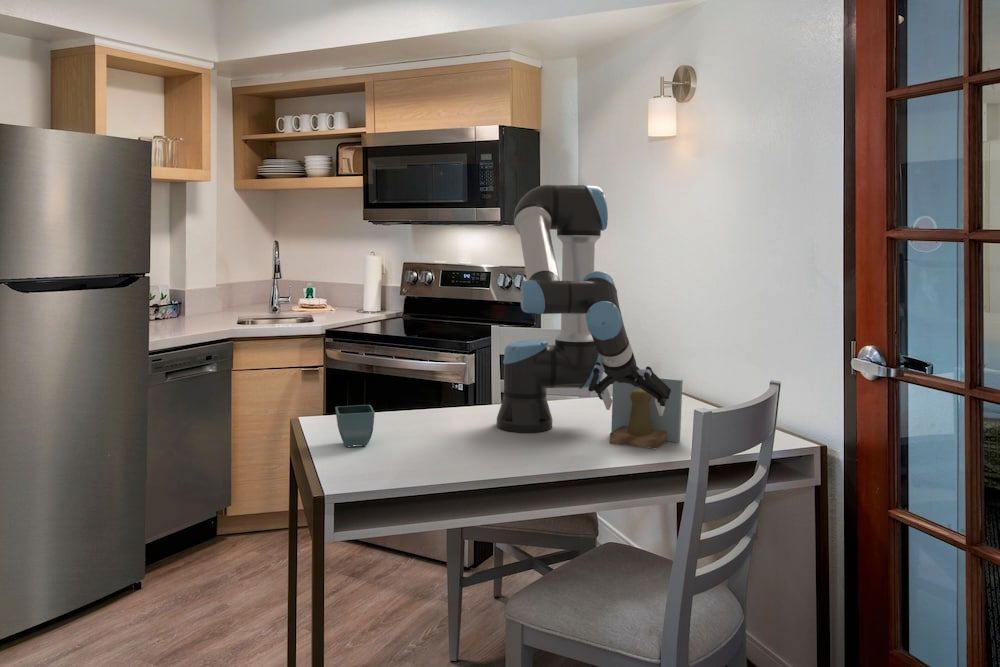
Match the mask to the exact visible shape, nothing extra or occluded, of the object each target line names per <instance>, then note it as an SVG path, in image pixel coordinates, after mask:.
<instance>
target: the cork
mask: <svg viewBox="0 0 1000 667" xmlns="http://www.w3.org/2000/svg"><path fill="white" fill-rule="evenodd" d="M631 401H632V408H631V414H630V420H629V426H628V433H630V434H633V435H650V434H651V422H650V411H649V402H650V401H651V395H650V394H649V393H647V392H646V391H644V390H643V389H636V390H633V391H632V392H631Z"/></svg>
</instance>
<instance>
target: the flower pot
mask: <svg viewBox="0 0 1000 667" xmlns="http://www.w3.org/2000/svg"><path fill="white" fill-rule="evenodd" d="M334 408H335V409H334V410H335V416H336V417H335V418H336V424H337V429H338V432H339V435H340V437H341V440H342V443H343V444H344V446H345V447H346V446H353V445H368V444H369V443H370V441H371V439H372V436H373V432H374V423H375V422H374V421H375V413H376V412H375V410H374V408H373V406H372V405H370V404H359V405H345V406H343V405H342V406H335V407H334Z"/></svg>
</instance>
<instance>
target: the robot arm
mask: <svg viewBox="0 0 1000 667" xmlns="http://www.w3.org/2000/svg"><path fill="white" fill-rule="evenodd" d="M608 221H609V214H608V204H607V199H606V196H605V193H604V191H603V190H602V188H601V187H599V186H596V185H587V184H583V185H582V184H581V185H579V184H577V185H573V184H572V185H570V184H569V185H566V184H564V185H562V184H560V185H559V184H556V185H555V184H544V185H539V186H537V187H534V188H532V189H531V190H529V191H528V192H526V193H525V194H524V195H523V196H522V197H521V198H520V200H519V202H518V203H517V205H516V207H515V210H514V214H513V224H514V228H515V231H516V233H517V234H518V235H519V236H520V243H521V250H522V257H523V263H524V270H525V274H526V277H525V278H526V280H523V281H522V282H521V286H520V293H519V294H520V308H521V311H522V312H524V313H526V314H537V315H550V314H551V315H554V314H556V315H559V314H560V332H559V334H557V336H556V337H555V338H554V339H555V340H554V344H549V342H548V340H546V339H543V338H538V339H535V338H533V339H525V340H524V339H523V340H518V341H515V342H511V343H509V344H507V345H506V347H505V348H504V356H503V361H502V362H503V395H502V396H503V398H502V401H501V404H500V406H499V407H500V408H499V410H498V412H497V416H496V427H497V428H499V429H500V430H503V431H508V432H515V433H539V432H545V431H548V430H551V429H553V415H552V413H551V410H550V407H549V403H548V400H547V391H548V389H579V390H582V389H588V391H589V392H595V393H596V394H597V396H598V398H599V399H600V400H602V402H603V404H604V406H605V409H606V411H610V410H611V408H612V397H611V395H610V392H609V389H608V387H609V386H610V385H612V386H613V383H614V382H615V381H617V382H618V383H628V384H632V385H633V386H635V387H640V388H641V389H643V390H644V391H646V392H647V393H649V394H650V395H652V396H653V397H655V404H656V407H657V410H658V413H659V416H663V412H664V409H665V403H666V399H669V396H670V393H671V389H670V388H669V387H668V386H667V385H666V384H665V383H664V382H663V381H662V380H661V379H660V378H658V377H659V376H657V374H656V373H655V372H654V371H653V369H652V367H651V366H646V367H645V368H644V369H641V368H639V367H638V365H637V361H636V358H635V355H634V351H633V348H632V346H631V342H630V339H629V337H628V334H627V331H626V328H625V327H626V326H625V325H624V320H623V316H622V312H621V307H620V303H619V298H618V291H617V288H616V285H615V282H614V279H613V277H612V276H611V274H609V273H608V272H605V271H602V270H595V252H596V250H595V244H596V242H597V241H598V240H599V239H601V237H602V236H601V235H602V231H605V230H606V229H607V228H608ZM551 230H555V231H556V238H557V239H559V241H561V244H562V247H561V248H562V251H561V252H562V253H561V254H562V260H561V262H562V263H561V280H560V275H559V271H558V266H557V261H556V256H555V251H554V245H553V240H552V236H551ZM603 373H605V374H606V376H605V377H604V378H603V379H602V377H603ZM636 378H637V380H636ZM601 379H602V380H601ZM635 380H636V381H635Z"/></svg>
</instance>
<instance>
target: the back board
mask: <svg viewBox="0 0 1000 667" xmlns="http://www.w3.org/2000/svg"><path fill="white" fill-rule="evenodd" d="M657 377H658V378H660V379H661V380H662V381H663V382H664V383H665V384H666V385H667V386H668V387H669V388H670V389H671V393H670V396H669V399H666V403H665V409H664V412H663V416H659V413H658V410H657V407H656V404H655V397H653V396H652V395H651V401H650V402H649V411H650V422H651V430H659V431H667V441H666V442H670V441H672V442H671V443H677V442H678V443H680V442H681V429H682V428H681V427H682V406H683V405H682V403H683V402H682V401H683V400H682V399H683V381H684V380H683V379H681V378H671V377H662V376H657ZM636 380H637V378H636ZM636 380H635V381H636ZM636 389H641V388H640V387H635V386H633V385H632V384H628V383H618V382H617V381H615V382H614V383H613V384H612V397H611V399H612V404H611V432H613V431H614V430H616V429H618V428H619V427H621V426H629V420H630V414H631V408H632V401H631V392H632V391H633V390H636ZM611 432H610V433H611ZM679 441H680V442H679Z"/></svg>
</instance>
